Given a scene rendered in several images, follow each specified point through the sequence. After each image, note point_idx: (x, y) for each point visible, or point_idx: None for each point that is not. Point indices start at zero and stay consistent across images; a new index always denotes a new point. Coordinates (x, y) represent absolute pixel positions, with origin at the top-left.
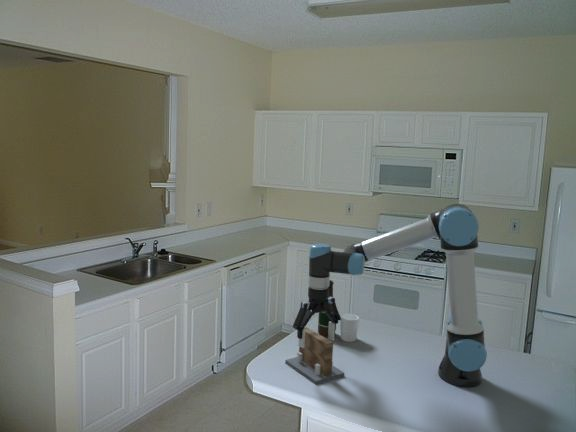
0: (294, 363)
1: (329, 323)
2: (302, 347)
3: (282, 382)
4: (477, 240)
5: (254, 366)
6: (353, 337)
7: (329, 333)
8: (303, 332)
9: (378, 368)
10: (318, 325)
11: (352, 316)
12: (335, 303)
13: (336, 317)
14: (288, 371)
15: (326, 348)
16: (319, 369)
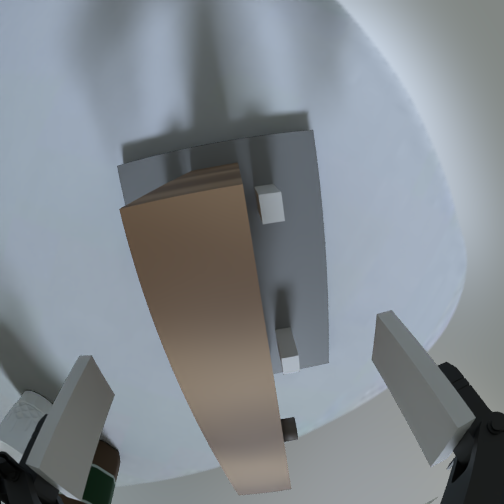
0: (313, 330)
1: (77, 486)
2: (393, 316)
3: (422, 210)
4: None
5: (424, 347)
6: (25, 399)
7: (96, 416)
8: (466, 404)
9: None
10: (116, 476)
11: (13, 455)
12: None
13: (7, 499)
14: (355, 289)
15: (237, 179)
16: (262, 190)
